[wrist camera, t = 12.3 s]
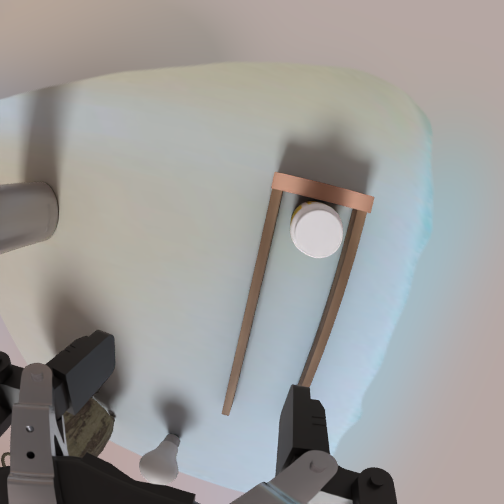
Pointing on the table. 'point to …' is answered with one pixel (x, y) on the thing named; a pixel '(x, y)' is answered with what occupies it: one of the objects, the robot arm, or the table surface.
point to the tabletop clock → (85, 430)
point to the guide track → (360, 209)
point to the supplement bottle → (316, 229)
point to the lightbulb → (161, 462)
